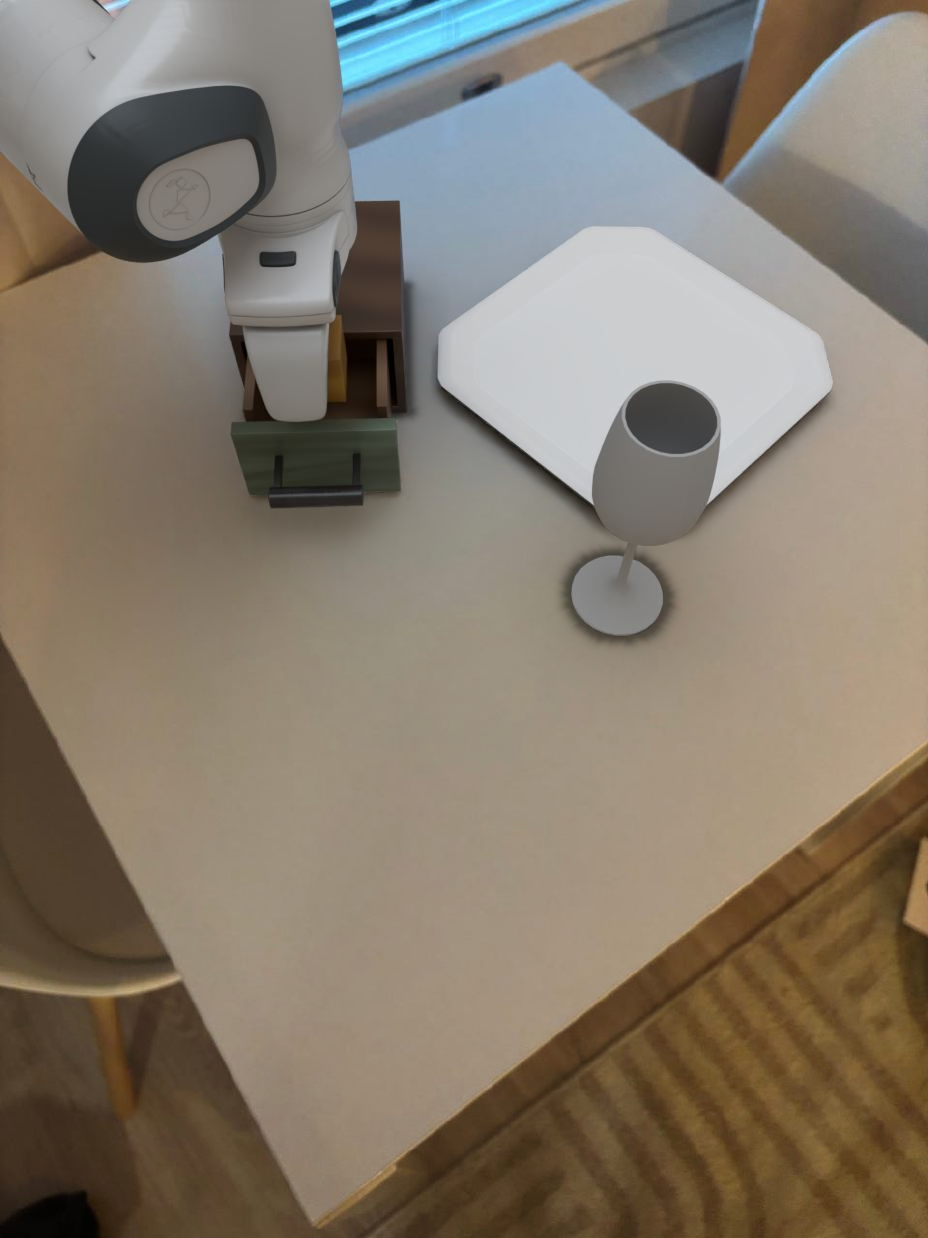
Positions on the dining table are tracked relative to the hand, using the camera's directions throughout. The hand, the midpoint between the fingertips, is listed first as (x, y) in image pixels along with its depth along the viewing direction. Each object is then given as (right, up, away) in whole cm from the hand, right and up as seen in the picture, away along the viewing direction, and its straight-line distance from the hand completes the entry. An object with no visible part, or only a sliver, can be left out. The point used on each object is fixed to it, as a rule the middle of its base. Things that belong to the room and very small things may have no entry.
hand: (313, 366), depth 72 cm
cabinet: (-1, +6, +15) cm, 16 cm away
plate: (+26, +3, +14) cm, 30 cm away
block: (0, -1, +1) cm, 2 cm away
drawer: (0, -5, +8) cm, 9 cm away
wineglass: (+24, -17, +3) cm, 29 cm away
